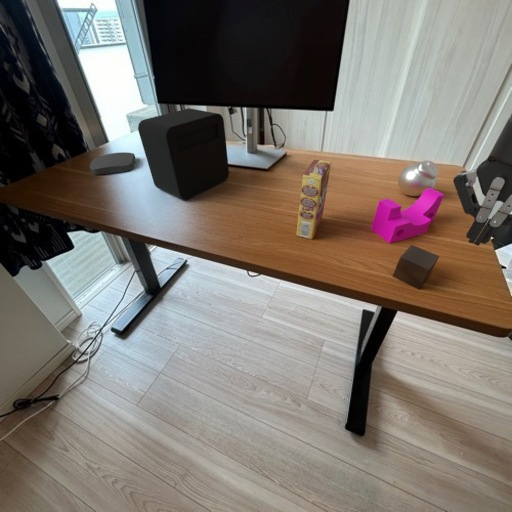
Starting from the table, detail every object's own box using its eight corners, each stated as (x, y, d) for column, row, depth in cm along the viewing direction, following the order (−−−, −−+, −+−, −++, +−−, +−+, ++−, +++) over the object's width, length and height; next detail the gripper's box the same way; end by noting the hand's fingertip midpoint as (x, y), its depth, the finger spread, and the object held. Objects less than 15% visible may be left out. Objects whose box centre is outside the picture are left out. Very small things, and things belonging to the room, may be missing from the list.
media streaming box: (133, 171, 96) (130, 163, 94) (90, 176, 94) (86, 168, 92) (137, 157, 107) (135, 149, 105) (98, 161, 105) (95, 154, 103)
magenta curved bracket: (389, 243, 60) (400, 214, 55) (370, 228, 64) (379, 200, 60) (440, 228, 64) (454, 199, 59) (419, 215, 68) (431, 187, 63)
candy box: (313, 240, 62) (322, 177, 52) (295, 236, 63) (300, 174, 53) (323, 221, 68) (332, 161, 58) (306, 217, 69) (312, 158, 59)
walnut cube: (429, 275, 52) (439, 256, 49) (419, 289, 49) (429, 269, 46) (403, 263, 55) (411, 244, 51) (392, 276, 52) (400, 256, 49)
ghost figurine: (409, 205, 72) (423, 169, 66) (387, 190, 79) (397, 156, 73) (437, 199, 74) (454, 164, 67) (413, 185, 81) (426, 151, 74)
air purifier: (201, 168, 96) (190, 106, 83) (230, 178, 89) (223, 111, 76) (153, 189, 85) (131, 120, 72) (181, 203, 77) (164, 129, 64)
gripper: (474, 116, 32) (420, 235, 43) (641, 139, 25) (524, 275, 36) (490, 105, 36) (437, 216, 47) (638, 122, 28) (533, 249, 40)
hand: (475, 241), depth 41 cm, fingers closed
